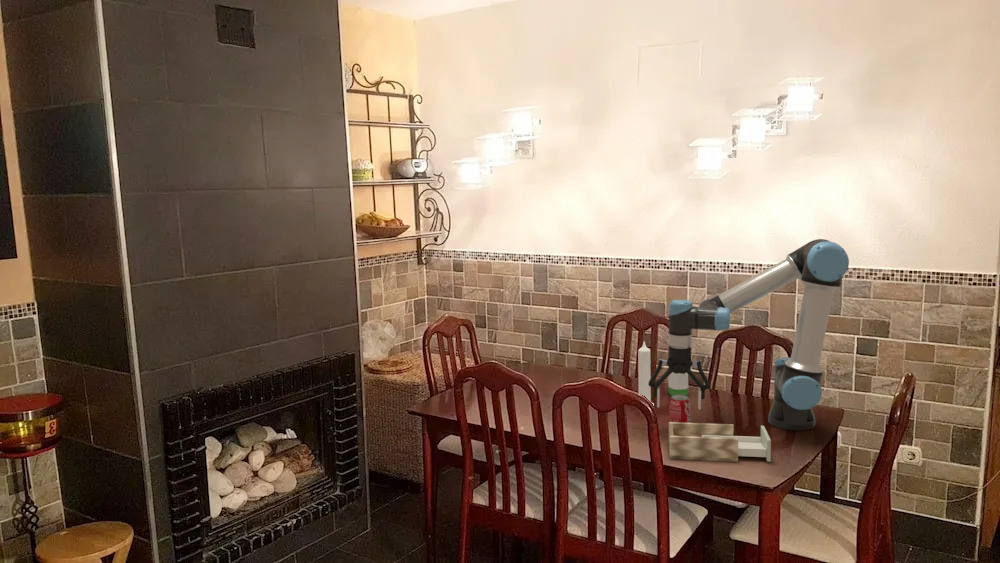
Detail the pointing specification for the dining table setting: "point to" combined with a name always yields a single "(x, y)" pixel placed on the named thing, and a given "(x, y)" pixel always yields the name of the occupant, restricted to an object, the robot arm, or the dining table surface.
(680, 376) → the wine bottle
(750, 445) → the drawer
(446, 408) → the dining table surface
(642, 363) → the candle
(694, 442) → the light brown hollow box
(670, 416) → the soda can
